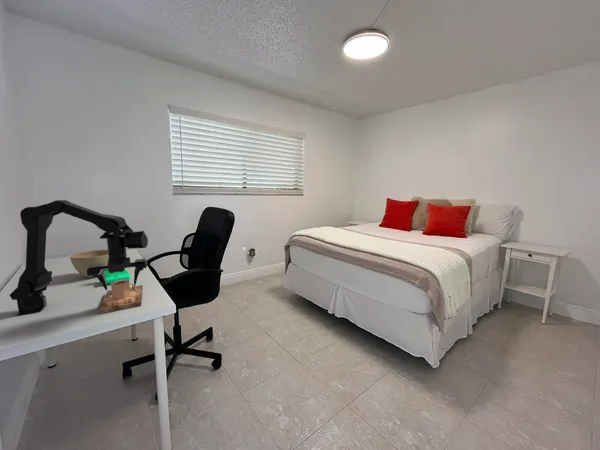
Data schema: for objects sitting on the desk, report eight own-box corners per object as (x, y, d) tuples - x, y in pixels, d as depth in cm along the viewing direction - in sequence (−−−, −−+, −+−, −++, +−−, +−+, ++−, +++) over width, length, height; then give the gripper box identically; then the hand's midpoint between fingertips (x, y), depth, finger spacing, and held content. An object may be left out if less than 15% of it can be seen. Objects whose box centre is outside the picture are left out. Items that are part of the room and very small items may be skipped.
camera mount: (101, 287, 118) (98, 266, 117) (100, 282, 124) (98, 262, 123) (131, 281, 126) (129, 261, 125) (129, 277, 132) (127, 258, 130)
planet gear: (102, 309, 92) (99, 290, 91) (106, 298, 102) (104, 280, 101) (138, 302, 98) (136, 284, 97) (139, 292, 107) (137, 275, 106)
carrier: (99, 313, 92) (97, 298, 91) (108, 294, 110) (106, 280, 109) (141, 305, 98) (139, 291, 97) (142, 288, 116) (141, 275, 115)
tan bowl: (98, 281, 125) (95, 257, 124) (63, 281, 126) (60, 257, 124) (124, 270, 143) (122, 249, 142) (93, 270, 144) (90, 249, 142)
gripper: (80, 256, 85) (86, 300, 87) (144, 250, 95) (148, 289, 97) (87, 250, 95) (92, 289, 97) (145, 245, 104) (148, 280, 106)
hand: (121, 287), depth 99 cm, fingers open, 9 cm apart
